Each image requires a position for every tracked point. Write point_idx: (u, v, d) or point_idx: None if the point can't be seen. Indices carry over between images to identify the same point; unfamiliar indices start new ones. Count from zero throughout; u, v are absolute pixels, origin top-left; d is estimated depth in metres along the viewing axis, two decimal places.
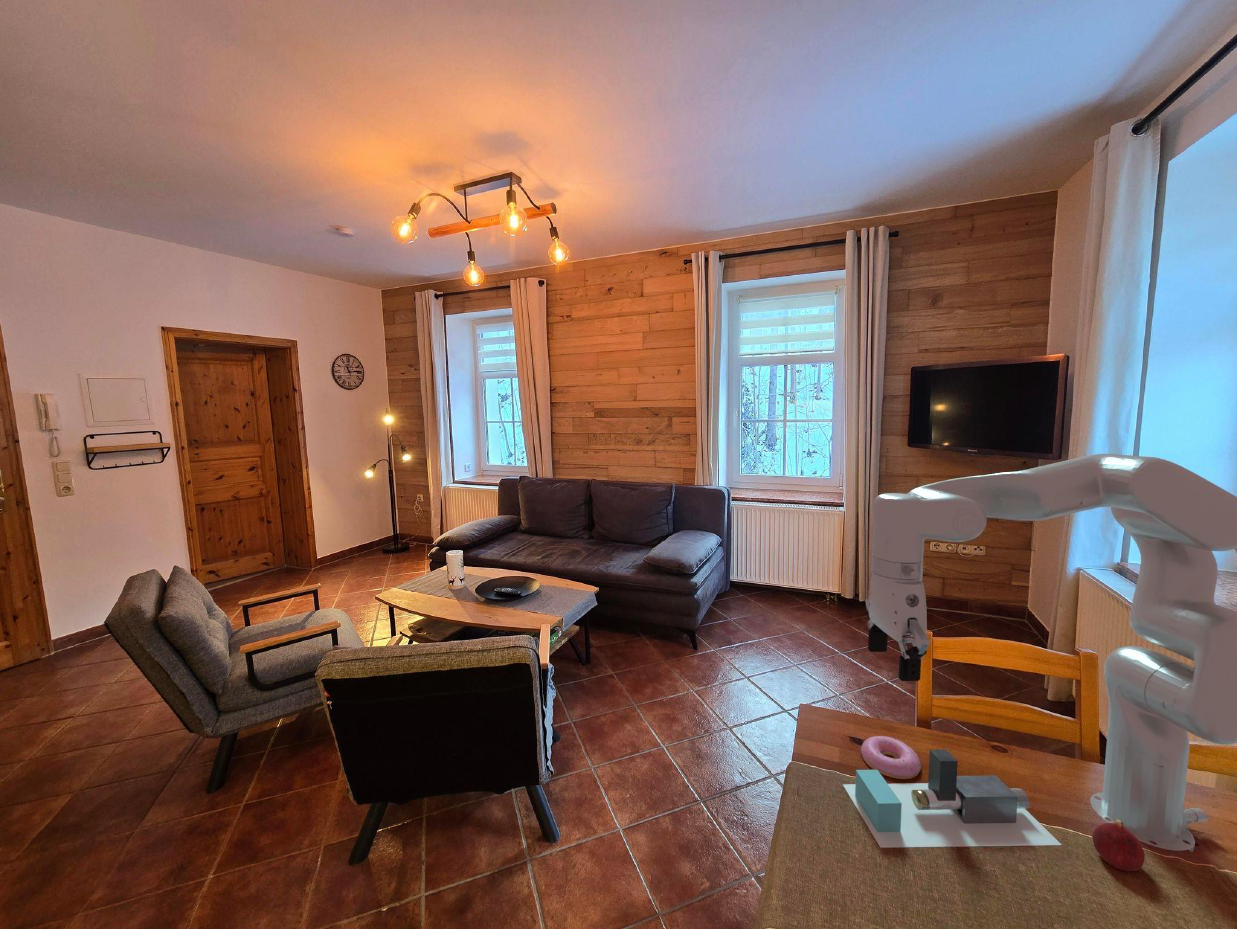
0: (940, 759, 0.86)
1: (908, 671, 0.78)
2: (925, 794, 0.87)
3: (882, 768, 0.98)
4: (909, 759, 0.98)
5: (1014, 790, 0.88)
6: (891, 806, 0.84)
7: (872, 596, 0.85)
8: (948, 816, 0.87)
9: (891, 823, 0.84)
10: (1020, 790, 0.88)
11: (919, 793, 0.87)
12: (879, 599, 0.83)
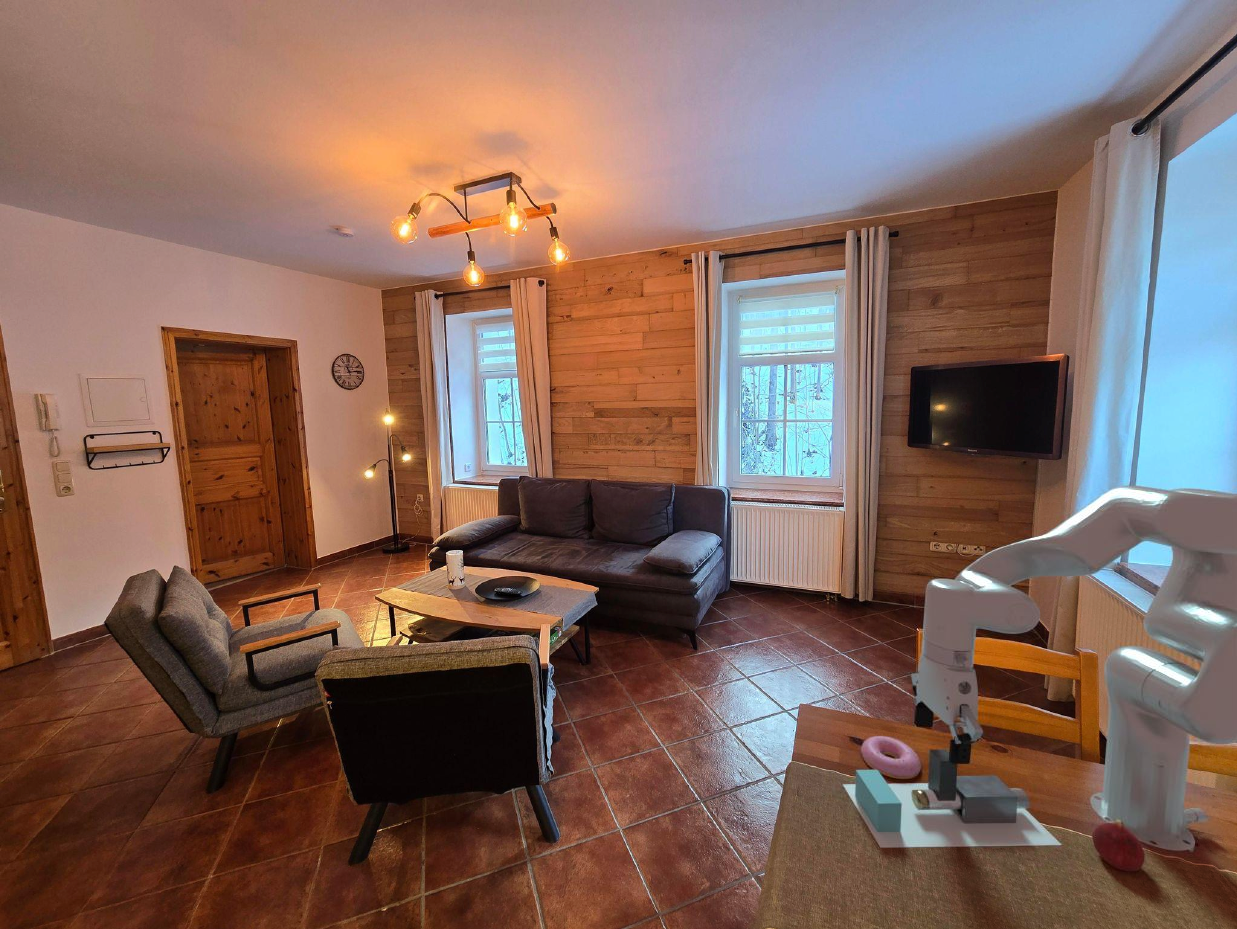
0: (940, 759, 0.86)
1: (959, 755, 0.81)
2: (925, 794, 0.87)
3: (882, 768, 0.98)
4: (909, 759, 0.98)
5: (1014, 790, 0.88)
6: (891, 806, 0.84)
7: (921, 675, 0.89)
8: (948, 816, 0.87)
9: (891, 823, 0.84)
10: (1020, 790, 0.88)
11: (919, 793, 0.87)
12: (929, 680, 0.86)
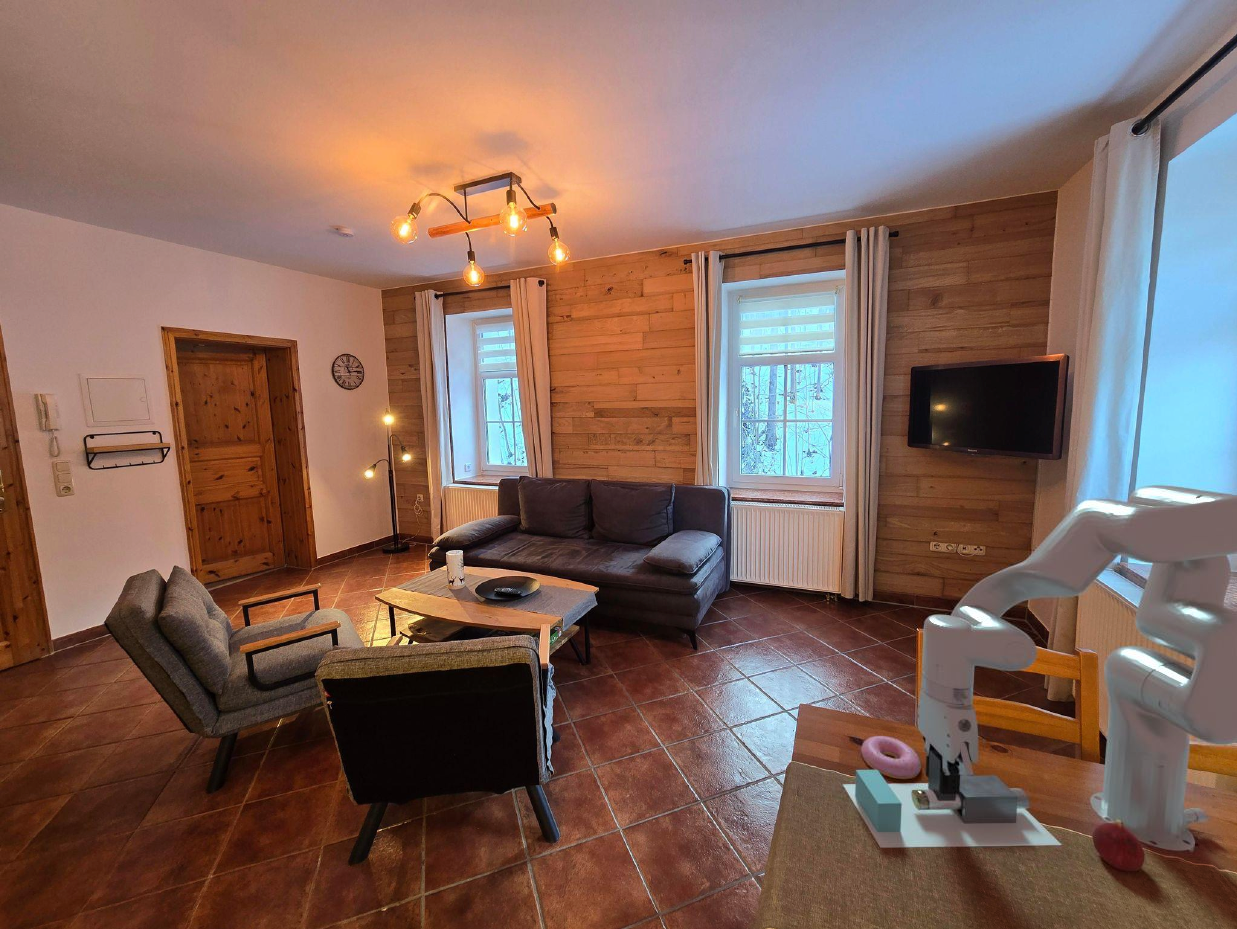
0: (940, 759, 0.86)
1: (948, 786, 0.85)
2: (925, 794, 0.87)
3: (882, 768, 0.98)
4: (909, 759, 0.98)
5: (1014, 790, 0.88)
6: (891, 806, 0.84)
7: (921, 710, 0.89)
8: (948, 816, 0.87)
9: (891, 823, 0.84)
10: (1020, 790, 0.88)
11: (919, 793, 0.87)
12: (929, 716, 0.87)
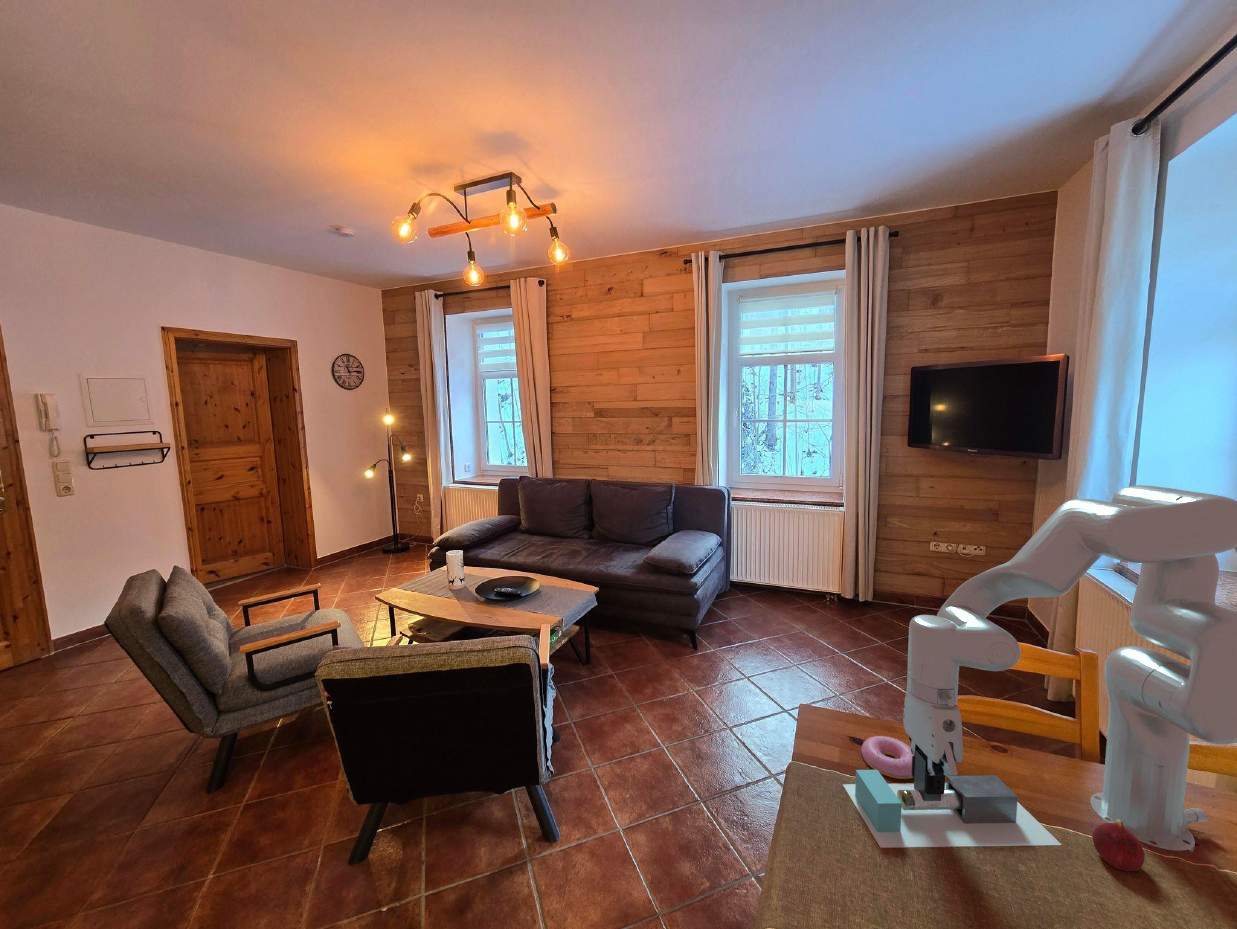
0: (926, 759, 0.86)
1: (933, 786, 0.85)
2: (911, 794, 0.87)
3: (882, 768, 0.98)
4: (909, 759, 0.98)
5: None
6: (891, 806, 0.84)
7: (907, 710, 0.89)
8: (948, 816, 0.87)
9: (891, 823, 0.84)
10: None
11: (905, 793, 0.87)
12: (915, 716, 0.87)
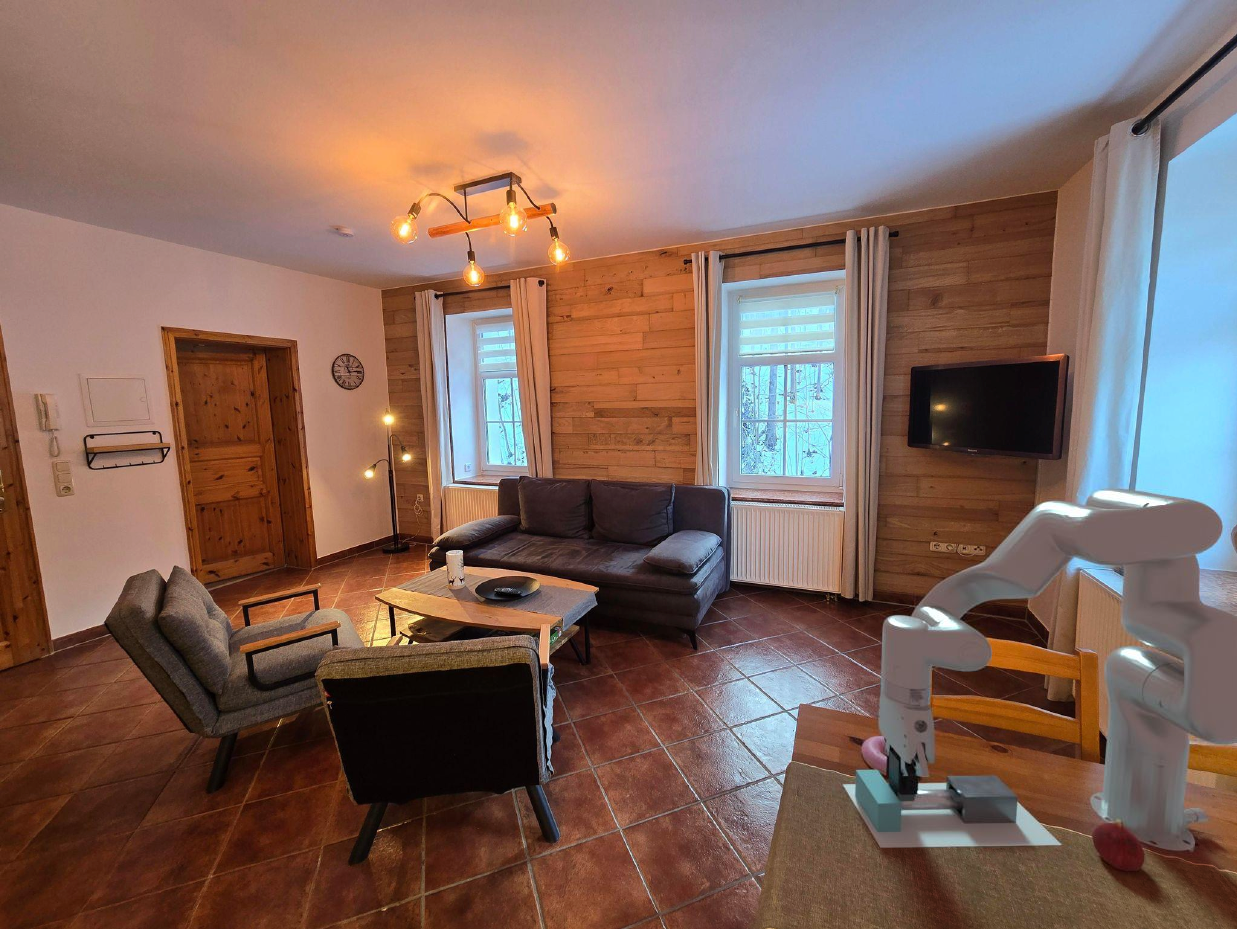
0: (899, 760, 0.86)
1: (907, 787, 0.85)
2: None
3: (883, 768, 0.98)
4: None
5: None
6: (891, 806, 0.84)
7: (882, 711, 0.89)
8: (948, 816, 0.87)
9: (891, 823, 0.84)
10: None
11: None
12: (888, 717, 0.87)
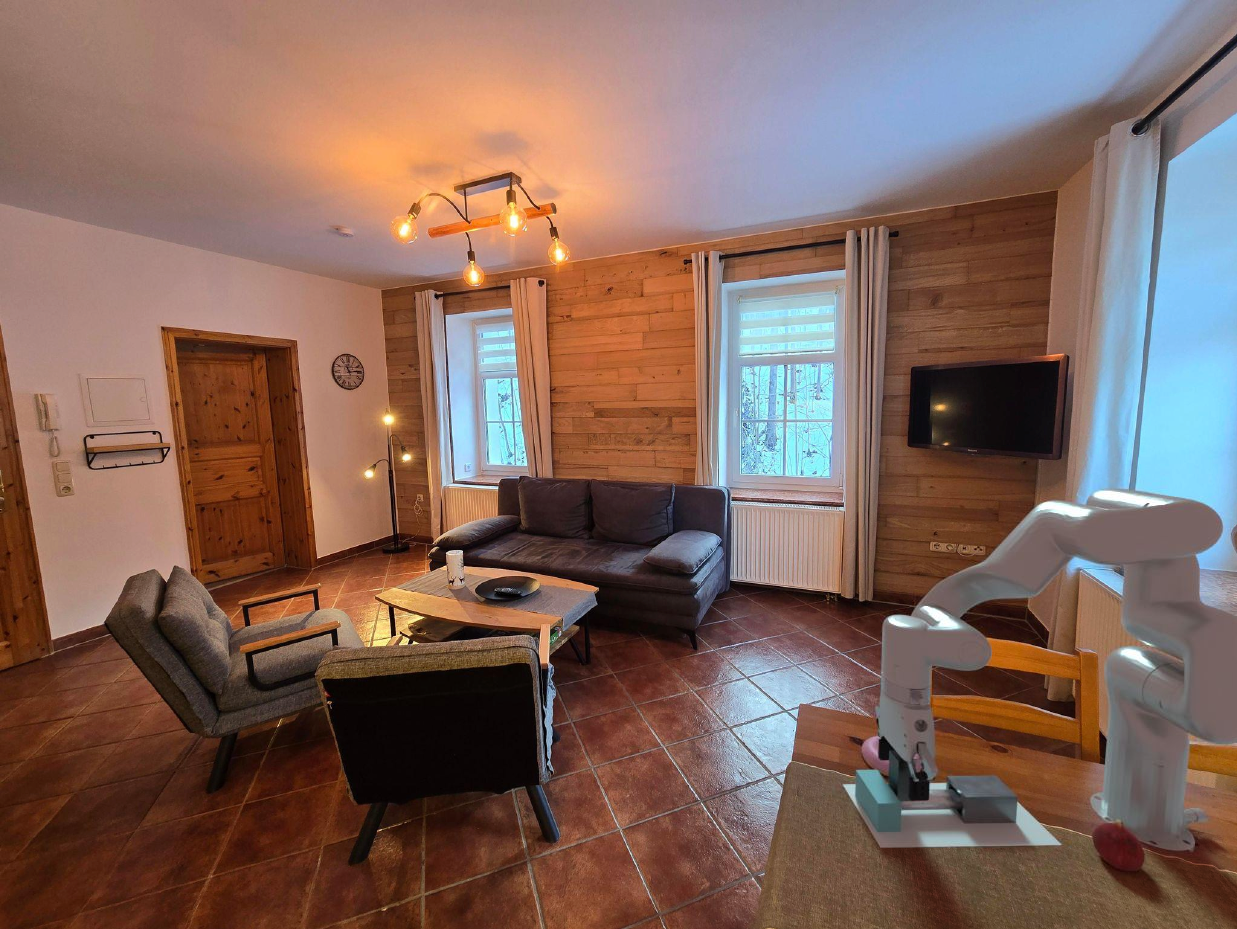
0: (899, 760, 0.86)
1: (917, 792, 0.82)
2: None
3: (883, 768, 0.98)
4: None
5: None
6: (891, 806, 0.84)
7: (882, 710, 0.89)
8: (948, 816, 0.87)
9: (891, 823, 0.84)
10: None
11: None
12: (888, 716, 0.87)
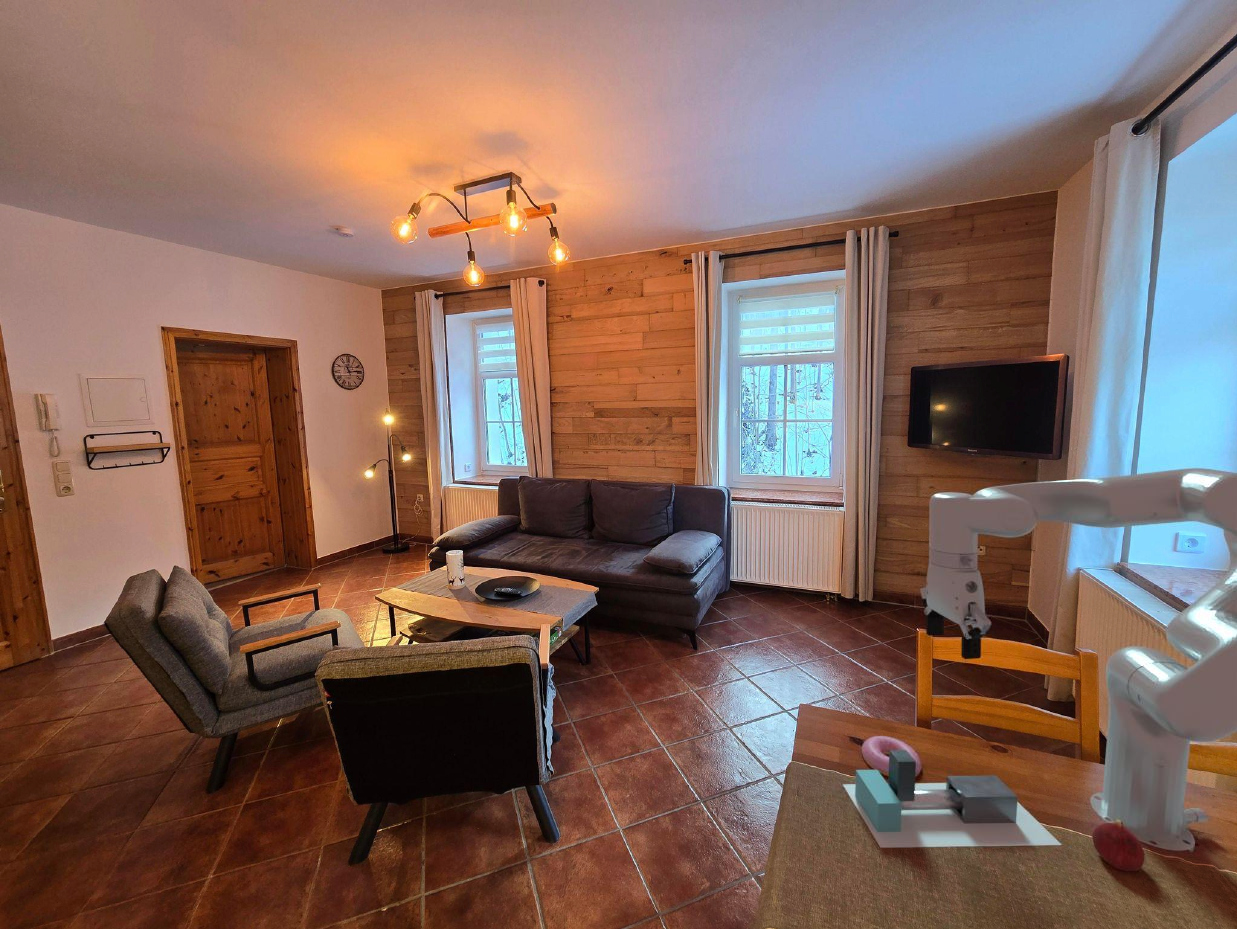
0: (899, 760, 0.86)
1: (970, 650, 0.88)
2: None
3: (883, 768, 0.98)
4: None
5: None
6: (891, 806, 0.84)
7: (930, 585, 0.95)
8: (948, 816, 0.87)
9: (891, 823, 0.84)
10: None
11: None
12: (938, 587, 0.93)
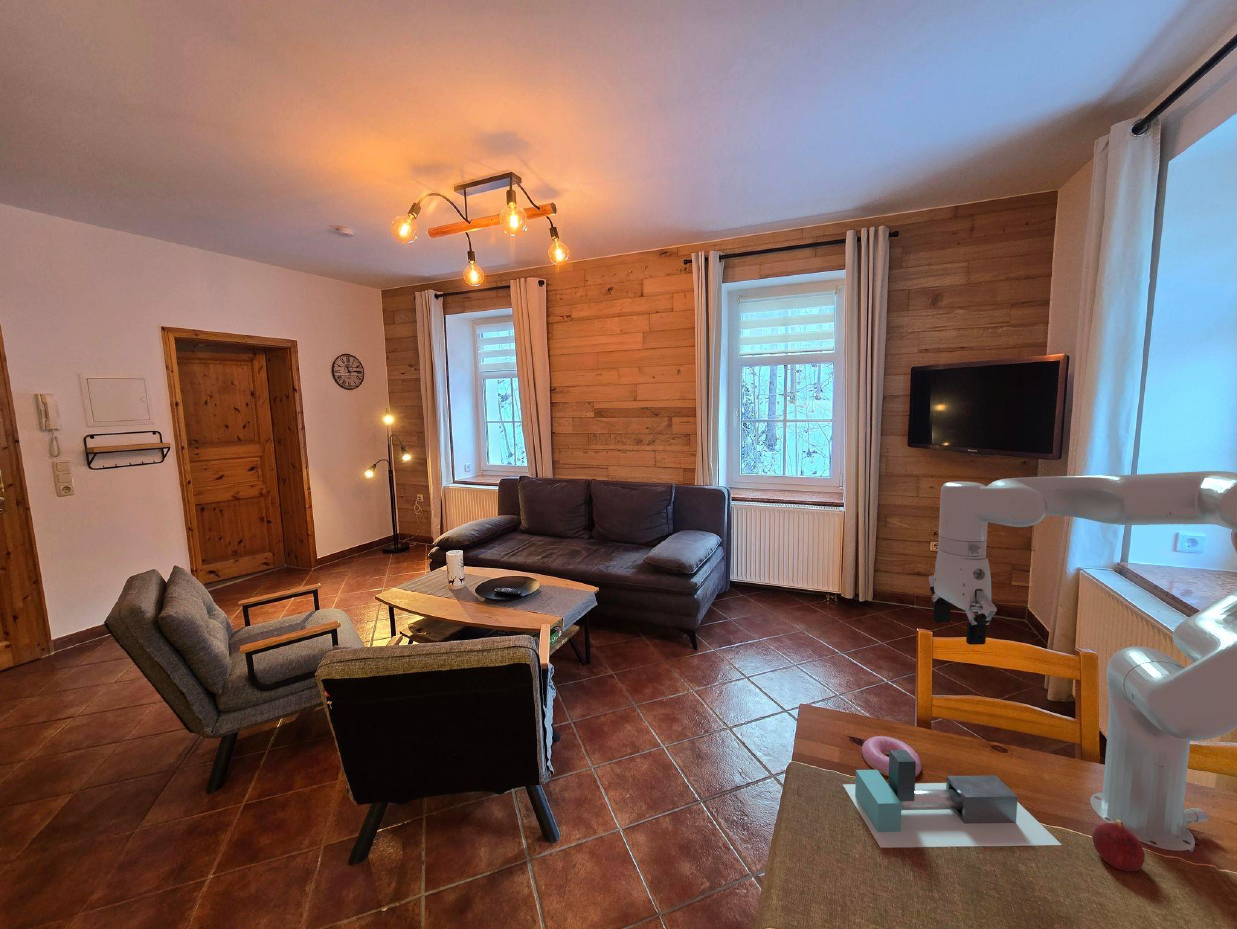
0: (899, 760, 0.86)
1: (975, 635, 0.89)
2: None
3: (883, 768, 0.98)
4: None
5: None
6: (891, 806, 0.84)
7: (938, 572, 0.97)
8: (948, 816, 0.87)
9: (891, 823, 0.84)
10: None
11: None
12: (946, 574, 0.94)
